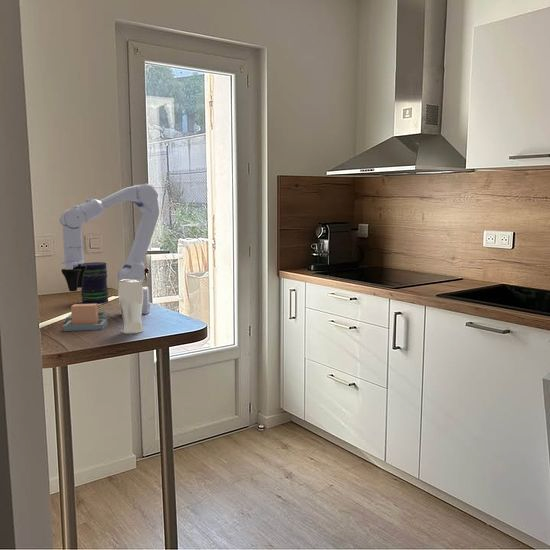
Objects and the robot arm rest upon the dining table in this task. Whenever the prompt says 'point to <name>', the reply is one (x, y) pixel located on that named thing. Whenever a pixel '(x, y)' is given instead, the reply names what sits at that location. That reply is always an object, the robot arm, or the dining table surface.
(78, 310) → the terracotta block
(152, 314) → the dining table surface
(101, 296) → the storage jar
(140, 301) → the beer glass
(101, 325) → the grey picture frame
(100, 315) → the grey rectangular open frame
